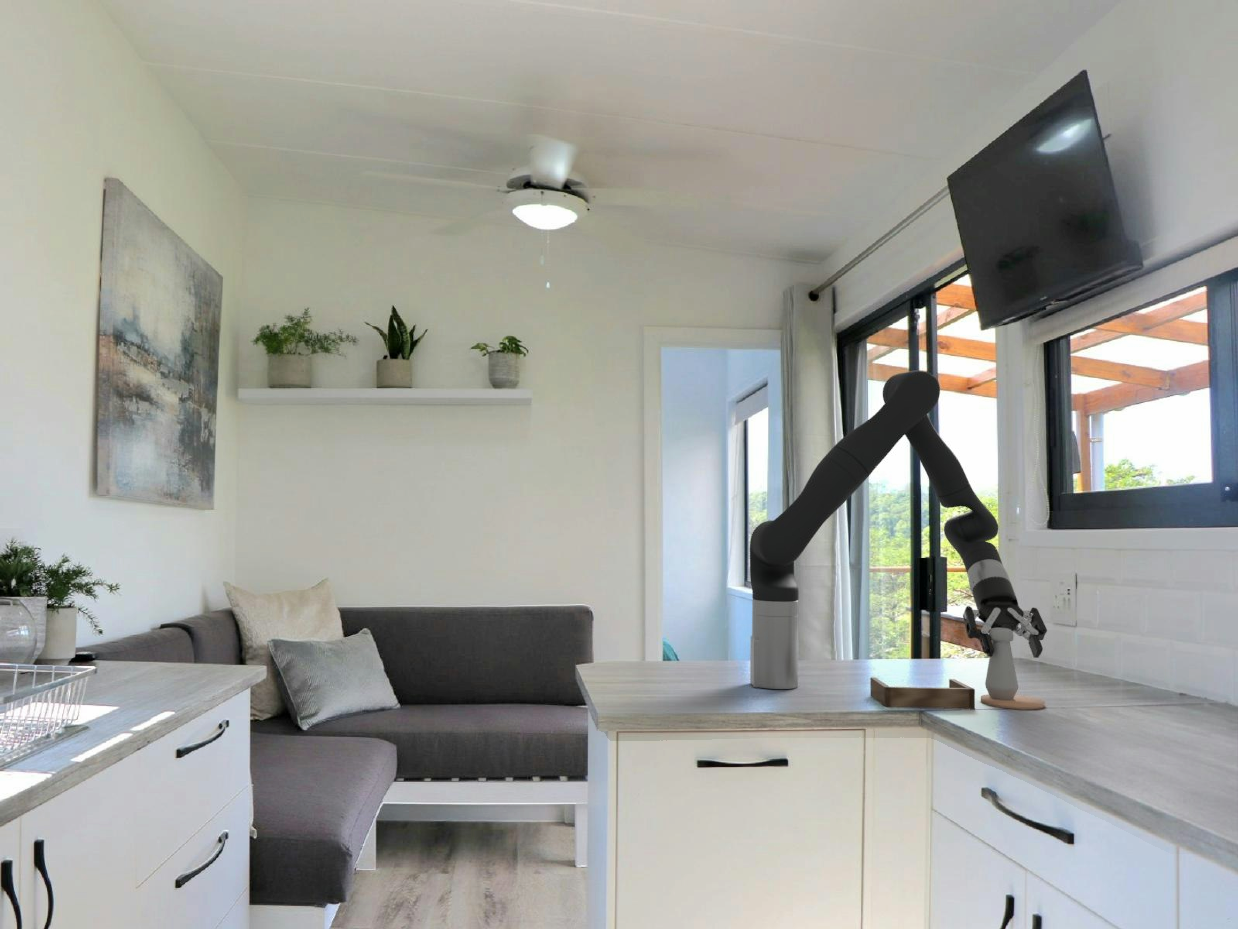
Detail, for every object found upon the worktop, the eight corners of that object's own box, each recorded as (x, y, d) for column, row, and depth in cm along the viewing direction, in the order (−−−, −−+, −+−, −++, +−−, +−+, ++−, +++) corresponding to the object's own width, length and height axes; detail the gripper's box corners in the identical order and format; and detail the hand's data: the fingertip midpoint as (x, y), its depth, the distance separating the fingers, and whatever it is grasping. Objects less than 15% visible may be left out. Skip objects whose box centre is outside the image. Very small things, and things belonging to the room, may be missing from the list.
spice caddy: (885, 707, 171) (885, 687, 172) (870, 696, 182) (870, 677, 183) (974, 709, 171) (974, 689, 171) (954, 697, 182) (954, 679, 182)
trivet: (993, 708, 171) (993, 704, 171) (972, 697, 182) (972, 693, 182) (1055, 710, 171) (1055, 705, 171) (1030, 698, 182) (1029, 694, 182)
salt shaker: (1003, 694, 181) (1003, 626, 182) (1025, 700, 176) (1024, 629, 177) (978, 696, 180) (978, 626, 180) (999, 701, 174) (999, 630, 175)
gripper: (959, 574, 186) (980, 641, 174) (1033, 576, 185) (1059, 643, 173) (950, 599, 191) (970, 666, 179) (1022, 601, 190) (1047, 667, 178)
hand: (1014, 654), depth 176 cm, fingers open, 8 cm apart
